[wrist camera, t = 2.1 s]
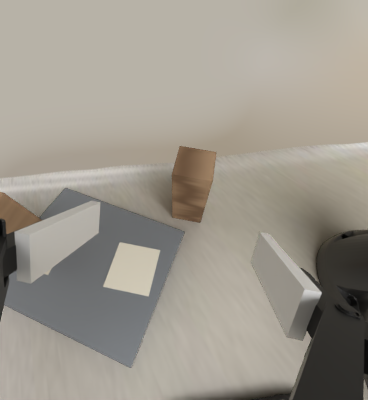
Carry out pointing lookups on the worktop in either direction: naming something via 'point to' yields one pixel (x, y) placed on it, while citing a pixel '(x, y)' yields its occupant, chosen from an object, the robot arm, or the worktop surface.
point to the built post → (15, 214)
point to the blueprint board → (102, 281)
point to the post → (191, 182)
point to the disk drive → (275, 397)
